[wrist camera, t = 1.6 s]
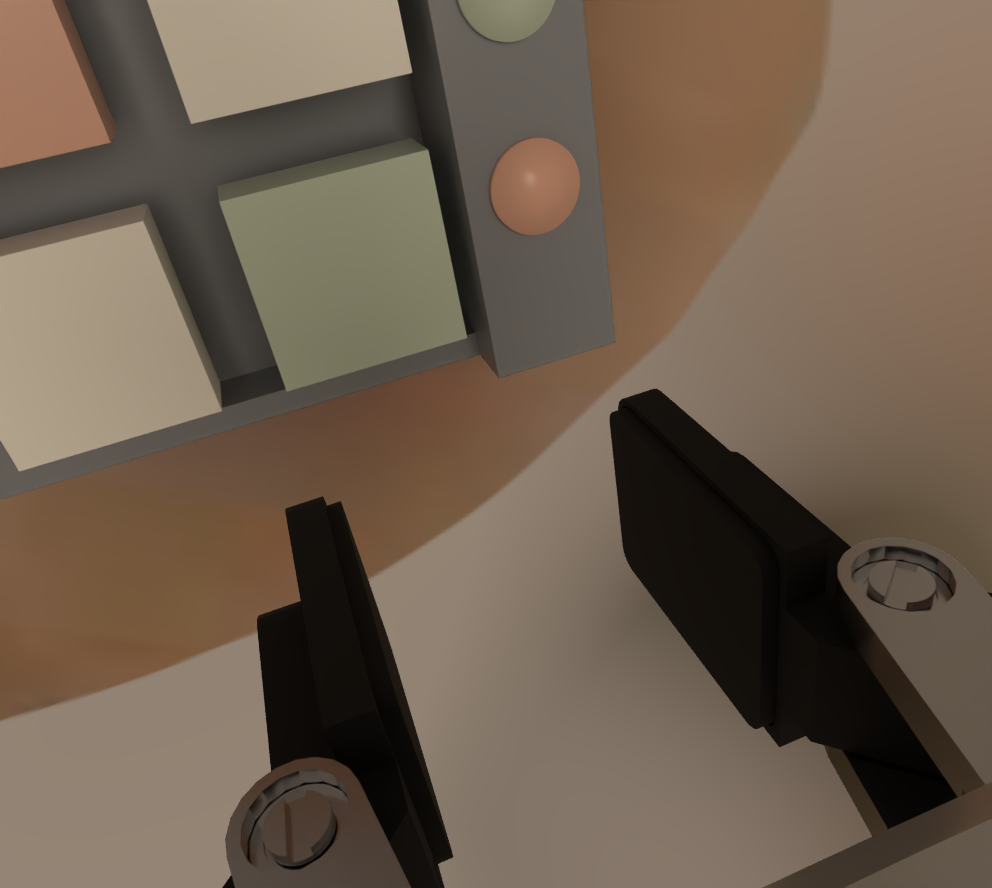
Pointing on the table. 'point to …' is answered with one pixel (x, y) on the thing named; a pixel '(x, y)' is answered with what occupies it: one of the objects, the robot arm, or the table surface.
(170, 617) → the table surface
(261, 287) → the key sage
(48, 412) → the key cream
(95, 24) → the keypad
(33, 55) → the key terracotta
